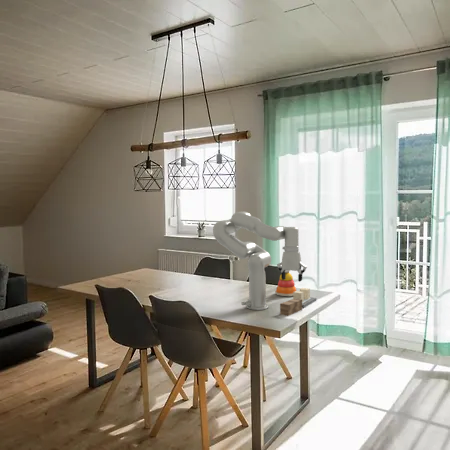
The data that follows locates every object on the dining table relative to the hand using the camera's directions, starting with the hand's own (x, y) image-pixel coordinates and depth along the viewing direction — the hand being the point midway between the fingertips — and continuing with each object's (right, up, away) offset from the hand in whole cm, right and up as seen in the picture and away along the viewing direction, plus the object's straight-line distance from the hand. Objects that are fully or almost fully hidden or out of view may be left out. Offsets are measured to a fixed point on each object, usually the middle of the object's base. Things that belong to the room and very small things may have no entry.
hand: (291, 280), depth 238 cm
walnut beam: (0, -18, +1) cm, 18 cm away
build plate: (+9, -16, +21) cm, 28 cm away
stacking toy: (+3, -15, +42) cm, 45 cm away
